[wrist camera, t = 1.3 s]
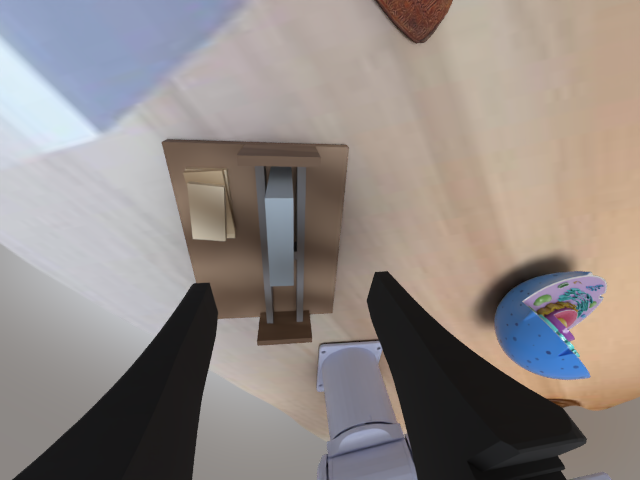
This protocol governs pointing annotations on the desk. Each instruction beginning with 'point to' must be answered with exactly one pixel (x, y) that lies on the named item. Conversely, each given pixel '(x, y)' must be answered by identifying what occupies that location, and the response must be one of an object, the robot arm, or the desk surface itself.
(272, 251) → the slate board
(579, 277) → the cell model
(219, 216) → the offcut stack
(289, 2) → the desk surface
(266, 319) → the board with sliding block
